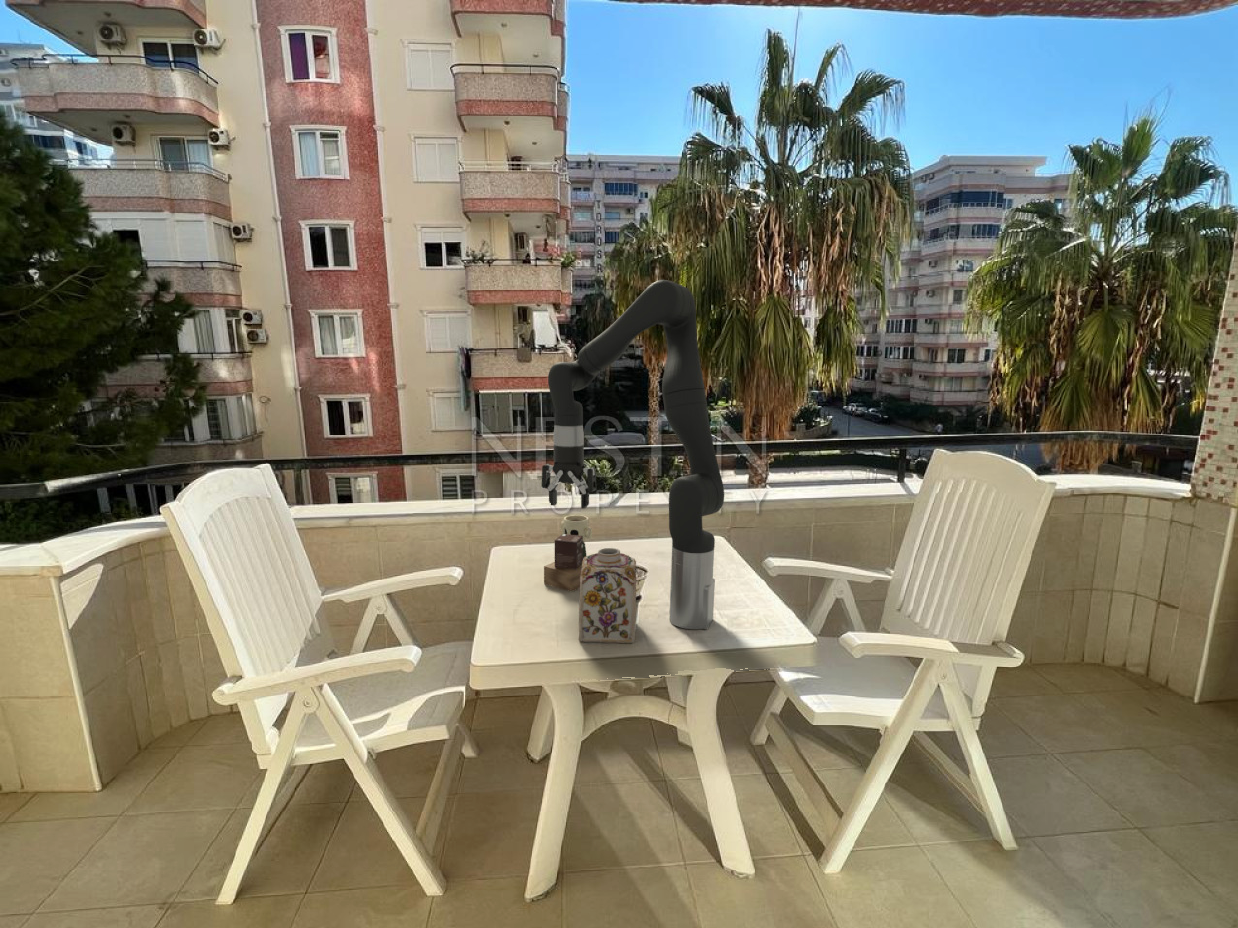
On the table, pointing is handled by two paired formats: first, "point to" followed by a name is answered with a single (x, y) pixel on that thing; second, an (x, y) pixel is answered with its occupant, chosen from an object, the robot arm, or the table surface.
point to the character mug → (577, 528)
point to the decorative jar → (607, 597)
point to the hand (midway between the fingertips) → (568, 506)
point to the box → (568, 551)
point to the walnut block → (562, 577)
